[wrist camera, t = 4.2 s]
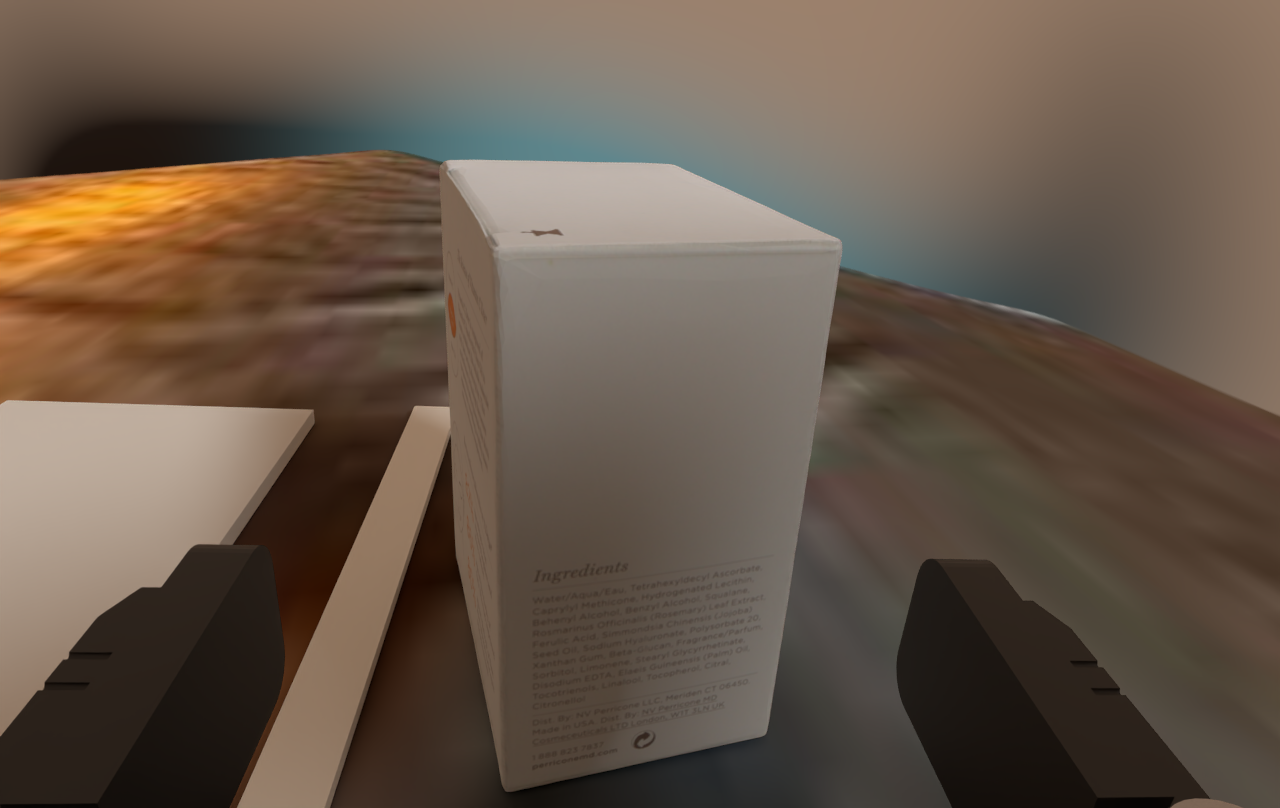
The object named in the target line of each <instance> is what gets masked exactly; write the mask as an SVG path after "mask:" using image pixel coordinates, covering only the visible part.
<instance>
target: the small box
mask: <svg viewBox="0 0 1280 808" xmlns="http://www.w3.org/2000/svg"><path fill="white" fill-rule="evenodd" d="M440 192H441V215H442V245H443V265H444V287H445V312H446V335H447V358H448V381H449V404H450V427H451V453H452V480H453V504H454V529H455V548H456V559H457V562H458V566H459V571H460V576H461V581H462V585H463V591H464V596H465V601H466V606H467V611H468V616H469V621H470V625H471V630H472V635H473V640H474V645H475V650H476V655H477V660H478V665H479V670H480V675H481V680H482V685H483V690H484V694H485V699H486V704H487V708H488V713H489V718H490V724H491V729H492V734H493V739H494V744H495V749H496V754H497V759H498V765H499V771H500V777H501V783H502V786H503V788H504V790H505V791H506V792H514V791H518V790H522V789H527V788H532V787H536V786H541V785H545V784H549V783H554V782H558V781H563V780H567V779H572V778H577V777H582V776H586V775H590V774H595V773H600V772H604V771H609V770H614V769H618V768H623V767H627V766H631V765H635V764H640V763H644V762H649V761H654V760H658V759H663V758H667V757H672V756H677V755H681V754H686V753H691V752H695V751H700V750H704V749H709V748H713V747H718V746H722V745H726V744H731V743H735V742H740V741H745V740H749V739H754V738H759V737H762V736H764V735H765V734H766V733H767V729H768V724H769V718H770V711H771V705H772V698H773V691H774V686H775V680H776V673H777V667H778V661H779V653H780V647H781V641H782V635H783V627H784V621H785V616H786V610H787V604H788V598H789V591H790V583H791V576H792V570H793V563H794V556H795V549H796V544H797V537H798V530H799V525H800V518H801V512H802V506H803V500H804V491H805V485H806V480H807V473H808V465H809V460H810V455H811V448H812V441H813V434H814V427H815V421H816V415H817V409H818V403H819V397H820V391H821V384H822V377H823V370H824V364H825V356H826V348H827V342H828V336H829V329H830V323H831V317H832V311H833V305H834V299H835V293H836V286H837V279H838V272H839V266H840V261H841V255H842V243H841V240H839V239H837V238H836V237H833V236H830V235H827V234H825V233H823V232H821V231H819V230H816V229H814V228H812V227H809V226H807V225H805V224H803V223H801V222H798V221H796V220H794V219H791V218H790V217H787V216H785V215H783V214H781V213H779V212H777V211H774V210H772V209H770V208H768V207H766V206H764V205H762V204H759V203H757V202H755V201H753V200H750V199H748V198H746V197H744V196H741V195H739V194H737V193H735V192H733V191H731V190H729V189H726V188H724V187H722V186H719V185H717V184H715V183H712V182H710V181H708V180H706V179H704V178H702V177H700V176H697V175H695V174H693V173H691V172H688V171H686V170H684V169H682V168H680V167H678V166H675V165H672V164H654V163H608V162H603V163H602V162H558V161H556V162H555V161H508V160H505V161H504V160H448V161H444V162H443V164H442V165H441V166H440Z"/></svg>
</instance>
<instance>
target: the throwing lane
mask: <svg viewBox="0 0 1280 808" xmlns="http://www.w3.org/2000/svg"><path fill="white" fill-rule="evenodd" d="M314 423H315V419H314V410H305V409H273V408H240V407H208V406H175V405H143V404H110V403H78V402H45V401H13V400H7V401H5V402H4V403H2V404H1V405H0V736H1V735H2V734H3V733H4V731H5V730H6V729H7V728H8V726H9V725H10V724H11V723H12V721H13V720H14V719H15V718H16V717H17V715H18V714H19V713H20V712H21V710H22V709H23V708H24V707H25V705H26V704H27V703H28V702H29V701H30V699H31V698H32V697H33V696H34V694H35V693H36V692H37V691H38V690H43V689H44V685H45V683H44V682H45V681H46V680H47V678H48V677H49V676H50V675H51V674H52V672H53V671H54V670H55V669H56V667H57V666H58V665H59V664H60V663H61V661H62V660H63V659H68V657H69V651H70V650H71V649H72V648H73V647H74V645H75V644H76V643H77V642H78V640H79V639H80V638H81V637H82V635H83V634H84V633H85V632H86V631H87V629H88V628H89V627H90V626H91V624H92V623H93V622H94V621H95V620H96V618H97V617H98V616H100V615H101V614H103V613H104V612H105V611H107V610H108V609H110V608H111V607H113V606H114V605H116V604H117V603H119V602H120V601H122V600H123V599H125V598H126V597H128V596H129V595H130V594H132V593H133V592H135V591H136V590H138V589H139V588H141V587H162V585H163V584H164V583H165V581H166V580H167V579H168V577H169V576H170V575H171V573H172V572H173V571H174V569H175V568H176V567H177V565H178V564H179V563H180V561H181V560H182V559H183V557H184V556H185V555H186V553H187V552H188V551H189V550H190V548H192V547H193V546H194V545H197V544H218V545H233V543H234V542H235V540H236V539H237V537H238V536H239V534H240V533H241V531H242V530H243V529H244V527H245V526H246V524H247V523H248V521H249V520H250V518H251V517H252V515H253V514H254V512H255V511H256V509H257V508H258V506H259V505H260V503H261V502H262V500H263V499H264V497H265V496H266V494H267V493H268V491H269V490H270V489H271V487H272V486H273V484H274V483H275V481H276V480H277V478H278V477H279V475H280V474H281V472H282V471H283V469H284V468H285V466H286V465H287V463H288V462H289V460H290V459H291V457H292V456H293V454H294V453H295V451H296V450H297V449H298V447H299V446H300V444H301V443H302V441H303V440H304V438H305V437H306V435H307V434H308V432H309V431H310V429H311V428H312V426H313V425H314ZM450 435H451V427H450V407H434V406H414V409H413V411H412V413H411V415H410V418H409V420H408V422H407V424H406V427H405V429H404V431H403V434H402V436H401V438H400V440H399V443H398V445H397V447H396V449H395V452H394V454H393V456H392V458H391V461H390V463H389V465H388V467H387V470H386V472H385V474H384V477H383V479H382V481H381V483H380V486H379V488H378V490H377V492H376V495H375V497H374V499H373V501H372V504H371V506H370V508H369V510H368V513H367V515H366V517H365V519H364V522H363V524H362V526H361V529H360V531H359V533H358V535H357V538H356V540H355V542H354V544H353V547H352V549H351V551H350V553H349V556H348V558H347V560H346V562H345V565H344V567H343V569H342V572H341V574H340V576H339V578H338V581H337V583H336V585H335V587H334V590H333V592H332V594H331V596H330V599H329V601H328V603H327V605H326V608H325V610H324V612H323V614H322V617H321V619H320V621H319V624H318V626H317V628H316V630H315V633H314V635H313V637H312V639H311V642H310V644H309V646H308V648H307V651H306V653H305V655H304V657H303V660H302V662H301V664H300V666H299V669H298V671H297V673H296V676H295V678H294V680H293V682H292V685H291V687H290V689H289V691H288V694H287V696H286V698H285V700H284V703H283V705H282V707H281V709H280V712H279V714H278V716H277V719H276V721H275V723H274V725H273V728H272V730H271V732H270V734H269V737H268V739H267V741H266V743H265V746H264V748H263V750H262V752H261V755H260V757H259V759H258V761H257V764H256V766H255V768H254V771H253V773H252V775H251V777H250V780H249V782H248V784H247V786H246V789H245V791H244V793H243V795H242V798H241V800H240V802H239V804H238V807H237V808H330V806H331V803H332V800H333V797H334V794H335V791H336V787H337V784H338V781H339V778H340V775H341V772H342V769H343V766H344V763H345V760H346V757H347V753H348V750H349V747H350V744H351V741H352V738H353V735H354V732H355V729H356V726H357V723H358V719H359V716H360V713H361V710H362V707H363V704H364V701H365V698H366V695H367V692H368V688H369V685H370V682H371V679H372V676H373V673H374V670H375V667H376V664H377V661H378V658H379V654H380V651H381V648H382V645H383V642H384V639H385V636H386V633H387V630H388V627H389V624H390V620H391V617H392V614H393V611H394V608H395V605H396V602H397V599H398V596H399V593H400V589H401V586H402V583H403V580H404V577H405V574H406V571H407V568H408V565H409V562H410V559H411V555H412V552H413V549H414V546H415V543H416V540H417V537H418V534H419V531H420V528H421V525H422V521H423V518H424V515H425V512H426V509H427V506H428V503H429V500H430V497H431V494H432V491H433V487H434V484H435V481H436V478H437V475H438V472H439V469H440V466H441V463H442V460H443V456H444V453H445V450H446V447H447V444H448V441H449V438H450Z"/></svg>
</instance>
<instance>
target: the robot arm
mask: <svg viewBox="0 0 1280 808" xmlns="http://www.w3.org/2000/svg"><path fill="white" fill-rule="evenodd" d="M284 662H285V650H284V641H283V634H282V626H281V619H280V612H279V605H278V598H277V591H276V583H275V576H274V569H273V562H272V558H271V554H270V552H269V550H268V548H267V547H266V546H264V545H218V544H197V545H194V546H193V547H192V548H190V550H189V551H188V552H187V553H186V555H185V556H184V557H183V559H182V560H181V561H180V563H179V564H178V565H177V567H176V568H175V569H174V571H173V572H172V573H171V575H170V576H169V577H168V579H167V580H166V581H165V583H164V584H163V585H162V587H141V588H139V589H138V590H136V591H135V592H133V593H132V594H130V595H129V596H128V597H126V598H125V599H123V600H122V601H120V602H119V603H117V604H116V605H114V606H113V607H111V608H110V609H108V610H107V611H105V612H104V613H103V614H101V615H100V616H98V617H97V618H96V620H95V621H94V622H93V623H92V624H91V626H90V627H89V628H88V629H87V631H86V632H85V633H84V634H83V635H82V637H81V638H80V639H79V640H78V642H77V643H76V644H75V645H74V647H73V648H72V649H71V650H70V651H69V657H68V659H63V660H62V661H61V663H60V664H59V665H58V666H57V667H56V669H55V670H54V671H53V672H52V674H51V675H50V676H49V677H48V678H47V680H46V681H45V682H44V683H45V685H44V689H43V690H38V691H37V692H36V693H35V694H34V696H33V697H32V698H31V699H30V701H29V702H28V703H27V704H26V705H25V707H24V708H23V709H22V710H21V712H20V713H19V714H18V715H17V717H16V718H15V719H14V720H13V721H12V723H11V724H10V725H9V726H8V728H7V729H6V730H5V731H4V733H3V734H2V735H1V736H0V808H229V807H230V805H231V803H232V801H233V798H234V796H235V794H236V792H237V789H238V787H239V785H240V783H241V780H242V778H243V776H244V774H245V771H246V769H247V767H248V765H249V762H250V760H251V758H252V756H253V754H254V751H255V749H256V747H257V745H258V742H259V740H260V738H261V736H262V733H263V731H264V729H265V727H266V724H267V722H268V720H269V718H270V715H271V713H272V711H273V709H274V707H275V704H276V702H277V699H278V696H279V693H280V689H281V685H282V680H283V673H284ZM897 683H898V689H899V693H900V697H901V700H902V703H903V705H904V708H905V710H906V712H907V714H908V716H909V718H910V720H911V722H912V725H913V727H914V729H915V731H916V733H917V735H918V737H919V739H920V741H921V743H922V745H923V747H924V750H925V752H926V754H927V756H928V758H929V760H930V762H931V764H932V766H933V768H934V770H935V772H936V775H937V777H938V779H939V781H940V783H941V785H942V787H943V789H944V791H945V793H946V795H947V798H948V800H949V802H950V804H951V806H952V808H1242V807H1239V806H1237V805H1234V804H1230V803H1226V802H1223V801H1218V800H1212V799H1210V798H1209V796H1208V795H1207V794H1206V793H1205V792H1204V790H1203V789H1202V788H1201V787H1200V785H1199V784H1198V783H1197V782H1196V781H1195V779H1194V778H1193V777H1192V776H1191V774H1190V773H1189V772H1188V771H1187V770H1186V768H1185V767H1184V766H1183V765H1182V764H1181V762H1180V761H1179V760H1178V759H1177V757H1176V756H1175V755H1174V754H1173V753H1172V751H1171V750H1170V749H1169V748H1168V746H1167V745H1166V744H1165V743H1164V742H1163V740H1162V739H1161V738H1160V737H1159V735H1158V734H1157V733H1156V732H1155V731H1154V729H1153V728H1152V727H1151V726H1150V724H1149V723H1148V722H1147V721H1146V720H1145V718H1144V717H1143V716H1142V715H1141V713H1140V712H1139V711H1138V710H1137V709H1136V707H1135V706H1134V705H1133V704H1132V702H1131V701H1130V700H1129V699H1128V698H1127V696H1126V695H1121V694H1120V688H1119V687H1118V685H1117V684H1116V683H1115V682H1114V680H1113V679H1112V678H1111V677H1110V676H1109V674H1108V673H1107V672H1106V671H1105V669H1104V668H1101V667H1098V665H1097V660H1096V659H1095V657H1094V656H1093V655H1092V654H1091V652H1090V651H1089V650H1088V649H1087V648H1086V646H1085V645H1084V644H1083V643H1082V641H1081V640H1080V639H1079V638H1078V637H1077V635H1076V634H1075V633H1074V632H1073V630H1072V629H1071V628H1069V627H1068V626H1067V625H1065V624H1064V623H1063V622H1061V621H1060V620H1058V619H1057V618H1056V617H1054V616H1053V615H1052V614H1050V613H1049V612H1047V611H1046V610H1045V609H1043V608H1042V607H1040V606H1039V605H1038V604H1036V603H1035V602H1034V601H1023V600H1022V599H1021V598H1020V596H1019V595H1018V594H1017V593H1016V591H1015V590H1014V589H1013V587H1012V586H1011V585H1010V584H1009V582H1008V581H1007V580H1006V578H1005V577H1004V576H1003V574H1002V573H1001V572H1000V571H999V569H998V568H997V567H996V566H995V565H994V564H993V563H992V562H990V561H988V560H963V559H928V560H926V561H925V562H924V563H923V564H922V566H921V567H920V570H919V572H918V575H917V579H916V583H915V587H914V591H913V595H912V599H911V603H910V607H909V611H908V615H907V619H906V623H905V627H904V631H903V635H902V639H901V643H900V647H899V651H898V656H897Z"/></svg>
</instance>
